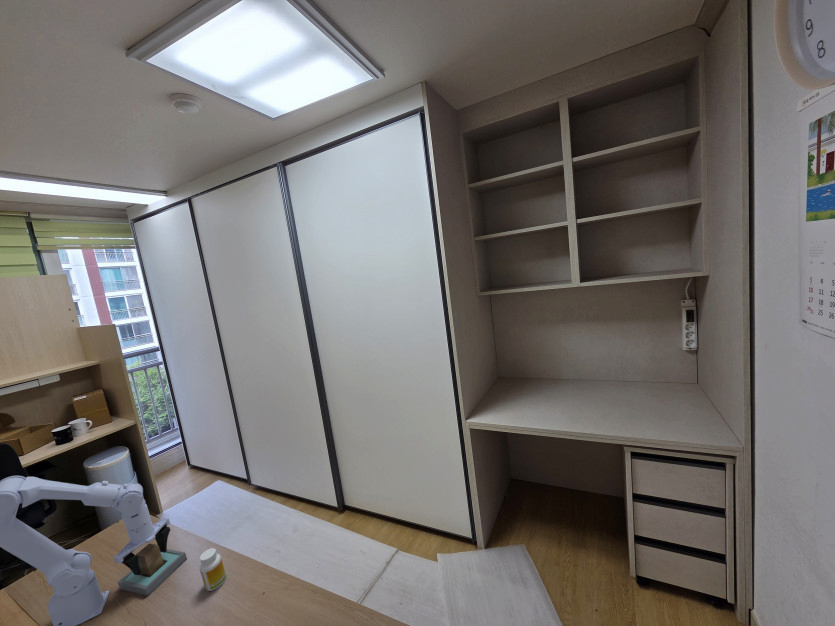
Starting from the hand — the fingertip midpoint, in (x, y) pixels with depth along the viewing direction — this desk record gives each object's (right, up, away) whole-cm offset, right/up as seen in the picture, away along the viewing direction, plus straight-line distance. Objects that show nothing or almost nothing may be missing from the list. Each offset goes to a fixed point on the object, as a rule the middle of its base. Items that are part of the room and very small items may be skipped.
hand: (151, 562), depth 102 cm
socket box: (+1, -4, +1) cm, 4 cm away
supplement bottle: (+23, -2, -5) cm, 24 cm away
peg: (0, -3, +1) cm, 3 cm away
